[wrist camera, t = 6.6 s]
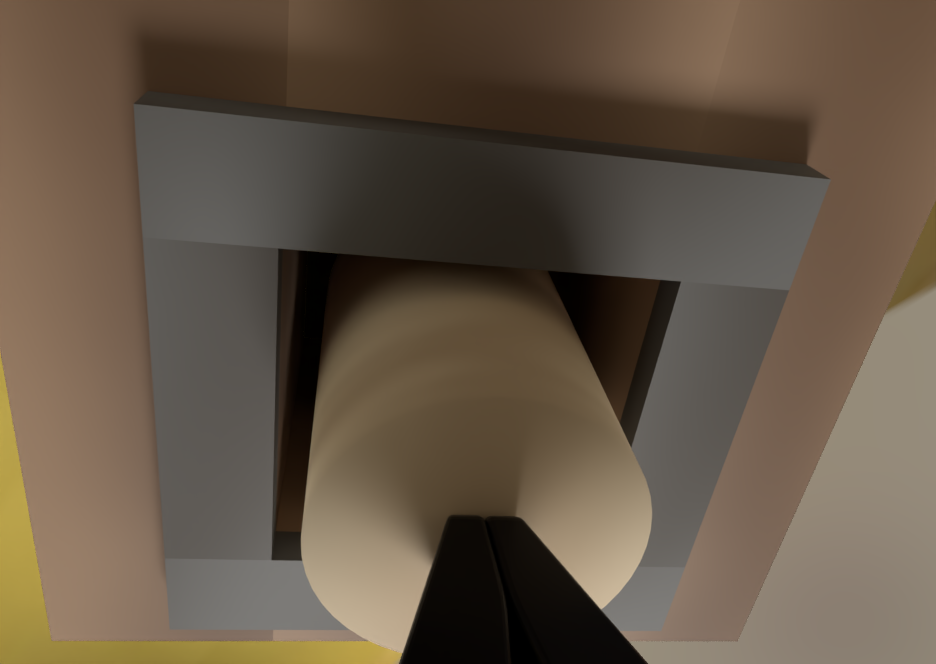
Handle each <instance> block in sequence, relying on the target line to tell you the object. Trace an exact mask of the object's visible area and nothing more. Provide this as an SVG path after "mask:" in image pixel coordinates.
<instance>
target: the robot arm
mask: <svg viewBox="0 0 936 664" xmlns="http://www.w3.org/2000/svg"><path fill="white" fill-rule="evenodd" d="M399 664H648V663H647V662H646V661H645V660H644V659H643V657H642V656H641V655H640V654H639V653H638V652H637V650H636V649H635V648H634V647H633V646H632V645H631V644H630V643H629V641H628V640H627V639H626V638H625V637H624V635H623V634H622V633H621V632H620V631H619V630H618V628H617V627H616V626H615V625H614V624H613V623H612V622H611V620H610V619H609V618H608V617H607V616H606V615H605V613H604V612H603V611H602V610H601V609H600V608H599V606H598V605H597V604H596V603H595V602H594V601H593V599H592V598H591V597H590V596H589V595H588V594H587V593H586V591H585V590H584V589H583V588H582V587H581V586H580V584H579V583H578V582H577V581H576V580H575V579H574V577H573V576H572V575H571V574H570V573H569V572H568V571H567V569H566V568H565V567H564V566H563V565H562V564H561V562H560V561H559V560H558V559H557V558H556V557H555V555H554V554H553V553H552V552H551V551H550V550H549V549H548V547H547V546H546V545H545V544H544V543H543V542H542V540H541V539H540V538H539V537H538V536H537V535H536V533H535V532H534V531H533V530H532V529H531V528H530V527H529V525H528V524H527V523H526V522H525V521H524V520H523V519H521V518H520V517H517V516H489V517H487V518H485V520H484V518H483V517H481V516H479V515H450V516H449V517H448V518H447V520H446V523H445V526H444V529H443V532H442V535H441V538H440V541H439V544H438V547H437V550H436V553H435V556H434V559H433V562H432V565H431V568H430V571H429V574H428V577H427V580H426V583H425V587H424V590H423V593H422V596H421V599H420V602H419V605H418V608H417V611H416V614H415V617H414V620H413V623H412V626H411V629H410V632H409V635H408V638H407V641H406V644H405V647H404V650H403V653H402V656H401V659H400V662H399Z"/></svg>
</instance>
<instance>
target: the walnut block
mask: <svg viewBox="0 0 936 664" xmlns="http://www.w3.org/2000/svg"><path fill="white" fill-rule="evenodd" d="M935 201H936V0H0V352H1V358H2V363H3V369H4V375H5V380H6V386H7V391H8V397H9V403H10V408H11V414H12V420H13V425H14V431H15V437H16V442H17V448H18V454H19V459H20V465H21V470H22V476H23V482H24V487H25V493H26V499H27V504H28V510H29V516H30V521H31V527H32V532H33V538H34V544H35V549H36V555H37V561H38V566H39V572H40V578H41V583H42V589H43V595H44V600H45V606H46V611H47V617H48V623H49V628H50V634H51V640H52V641H368V640H366V639H364V638H362V637H361V636H359V635H357V634H356V633H354V632H353V631H351V630H350V629H348V628H346V627H345V626H344V625H343V624H342V623H341V622H339V621H338V620H337V619H336V618H335V617H333V616H332V615H331V613H330V612H329V611H328V610H327V609H326V608H325V607H324V606H323V604H322V603H321V602H320V600H319V599H318V597H317V596H316V594H315V593H314V591H313V589H312V587H311V585H310V583H309V580H308V578H307V576H306V573H305V569H304V565H303V561H302V555H301V532H302V523H303V513H304V504H305V495H306V485H307V476H308V466H309V457H310V448H311V438H312V429H313V420H314V410H315V401H316V391H317V382H318V373H319V363H320V354H321V344H322V339H321V338H305V337H304V330H305V306H306V283H307V259H308V251H315V252H328V253H340V254H352V255H364V256H376V257H389V258H401V259H413V260H425V261H438V262H450V263H462V264H474V265H486V266H499V267H511V268H523V269H535V270H547V271H548V273H549V275H550V277H551V279H552V281H553V283H554V285H555V288H556V290H557V292H558V294H559V296H560V298H561V300H562V302H563V305H564V307H565V309H566V311H567V313H568V315H569V317H570V319H571V322H572V324H573V326H574V328H575V330H576V332H577V334H578V336H579V339H580V341H581V343H582V345H583V347H584V349H585V351H586V353H587V355H588V358H589V360H590V362H591V364H592V366H593V368H594V370H595V372H596V375H597V377H598V379H599V381H600V383H601V385H602V387H603V389H604V392H605V394H606V396H607V398H608V400H609V402H610V404H611V406H612V409H613V411H614V413H615V415H616V417H617V419H618V421H619V423H620V426H621V428H622V430H623V432H624V434H625V436H626V438H627V440H628V443H629V445H630V447H631V449H632V451H633V453H634V455H635V457H636V459H637V462H638V464H639V466H640V468H641V470H642V472H643V474H644V476H645V479H646V481H647V485H648V488H649V492H650V496H651V505H652V522H651V531H650V535H649V539H648V543H647V547H646V549H645V552H644V554H643V556H642V559H641V561H640V563H639V565H638V567H637V568H636V570H635V572H634V573H633V575H632V577H631V578H630V579H629V581H628V582H627V583H626V585H625V586H624V587H623V588H622V590H621V591H620V592H619V593H618V594H617V595H616V596H615V597H614V598H613V599H612V600H611V601H610V602H609V603H608V604H607V605H606V606H605V607H604V608H602V609H601V610H602V611H603V612H604V613H605V615H606V616H607V617H608V618H609V619H610V620H611V622H612V623H613V624H614V625H615V626H616V627H617V628H618V630H619V631H620V632H621V633H622V634H623V635H624V637H625V638H626V639H627V640H628V641H738V639H739V637H740V635H741V632H742V630H743V628H744V626H745V623H746V621H747V619H748V617H749V614H750V612H751V610H752V608H753V606H754V603H755V601H756V599H757V597H758V595H759V592H760V590H761V588H762V586H763V583H764V581H765V579H766V577H767V575H768V572H769V570H770V567H771V566H772V563H773V561H774V559H775V557H776V555H777V552H778V550H779V548H780V546H781V543H782V541H783V539H784V536H785V534H786V532H787V530H788V528H789V525H790V523H791V521H792V519H793V517H794V514H795V512H796V510H797V507H798V506H799V503H800V501H801V499H802V497H803V494H804V492H805V490H806V488H807V486H808V483H809V481H810V479H811V477H812V474H813V472H814V470H815V468H816V465H817V463H818V461H819V459H820V457H821V454H822V452H823V450H824V448H825V445H826V443H827V441H828V439H829V437H830V434H831V432H832V430H833V428H834V426H835V423H836V421H837V419H838V416H839V414H840V412H841V410H842V408H843V405H844V403H845V401H846V399H847V397H848V394H849V392H850V390H851V387H852V385H853V383H854V381H855V379H856V377H857V374H858V372H859V370H860V368H861V366H862V363H863V361H864V359H865V356H866V354H867V352H868V350H869V348H870V345H871V343H872V341H873V339H874V337H875V334H876V332H877V330H878V328H879V325H880V323H881V321H882V319H883V317H884V314H885V312H886V310H887V308H888V305H889V303H890V301H891V299H892V297H893V294H894V292H895V290H896V288H897V285H898V283H899V281H900V279H901V277H902V274H903V272H904V270H905V268H906V265H907V263H908V261H909V259H910V257H911V254H912V252H913V250H914V248H915V245H916V243H917V241H918V239H919V237H920V234H921V232H922V230H923V228H924V225H925V223H926V221H927V219H928V217H929V214H930V212H931V210H932V208H933V205H934V203H935Z"/></svg>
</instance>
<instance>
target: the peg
mask: <svg viewBox="0 0 936 664" xmlns="http://www.w3.org/2000/svg"><path fill="white" fill-rule="evenodd" d="M450 515H479V516H481V517H483V518H484V520H485V518H487V517H489V516H517V517H520V518H521V519H523V520H524V521H525V522H526V523H527V524H528V525H529V527H530V528H531V529H532V530H533V531H534V532H535V533H536V535H537V536H538V537H539V538H540V539H541V540H542V542H543V543H544V544H545V545H546V546H547V547H548V549H549V550H550V551H551V552H552V553H553V554H554V555H555V557H556V558H557V559H558V560H559V561H560V562H561V564H562V565H563V566H564V567H565V568H566V569H567V571H568V572H569V573H570V574H571V575H572V576H573V577H574V579H575V580H576V581H577V582H578V583H579V584H580V586H581V587H582V588H583V589H584V590H585V591H586V593H587V594H588V595H589V596H590V597H591V598H592V599H593V601H594V602H595V603H596V604H597V605H598V606H599V608H600V609H602V608H604V607H605V606H606V605H607V604H608V603H609V602H610V601H611V600H612V599H613V598H614V597H615V596H616V595H617V594H618V593H619V592H620V591H621V590H622V588H623V587H624V586H625V585H626V583H627V582H628V581H629V579H630V578H631V577H632V575H633V573H634V572H635V570H636V568H637V567H638V565H639V563H640V561H641V559H642V556H643V554H644V552H645V549H646V547H647V543H648V539H649V535H650V531H651V522H652V505H651V496H650V492H649V488H648V485H647V481H646V479H645V476H644V474H643V472H642V470H641V468H640V466H639V464H638V462H637V459H636V457H635V455H634V453H633V451H632V449H631V447H630V445H629V443H628V440H627V438H626V436H625V434H624V432H623V430H622V428H621V426H620V423H619V421H618V419H617V417H616V415H615V413H614V411H613V409H612V406H611V404H610V402H609V400H608V398H607V396H606V394H605V392H604V389H603V387H602V385H601V383H600V381H599V379H598V377H597V375H596V372H595V370H594V368H593V366H592V364H591V362H590V360H589V358H588V355H587V353H586V351H585V349H584V347H583V345H582V343H581V341H580V339H579V336H578V334H577V332H576V330H575V328H574V326H573V324H572V322H571V319H570V317H569V315H568V313H567V311H566V309H565V307H564V305H563V302H562V300H561V298H560V296H559V294H558V292H557V290H556V288H555V285H554V283H553V281H552V279H551V277H550V275H549V273H548V271H547V270H535V269H523V268H511V267H499V266H486V265H474V264H462V263H450V262H438V261H425V260H413V259H401V258H389V257H376V256H364V255H352V254H340V253H339V254H338V256H337V258H336V260H335V262H334V265H333V267H332V270H331V274H330V277H329V281H328V289H327V297H326V307H325V316H324V326H323V335H322V344H321V354H320V363H319V373H318V382H317V391H316V401H315V410H314V420H313V429H312V438H311V448H310V457H309V466H308V476H307V485H306V495H305V504H304V513H303V523H302V532H301V555H302V561H303V565H304V569H305V573H306V576H307V578H308V580H309V583H310V585H311V587H312V589H313V591H314V593H315V594H316V596H317V597H318V599H319V600H320V602H321V603H322V604H323V606H324V607H325V608H326V609H327V610H328V611H329V612H330V613H331V615H332V616H333V617H335V618H336V619H337V620H338V621H339V622H341V623H342V624H343V625H344V626H345V627H346V628H348V629H350V630H351V631H353V632H354V633H356V634H357V635H359V636H361V637H362V638H364V639H366V640H368V641H371V642H373V643H375V644H377V645H379V646H382V647H385V648H388V649H391V650H393V651H396V652H400V653H403V650H404V647H405V644H406V641H407V638H408V635H409V632H410V629H411V626H412V623H413V620H414V617H415V614H416V611H417V608H418V605H419V602H420V599H421V596H422V593H423V590H424V587H425V583H426V580H427V577H428V574H429V571H430V568H431V565H432V562H433V559H434V556H435V553H436V550H437V547H438V544H439V541H440V538H441V535H442V532H443V529H444V526H445V523H446V520H447V518H448V517H449V516H450Z"/></svg>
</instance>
